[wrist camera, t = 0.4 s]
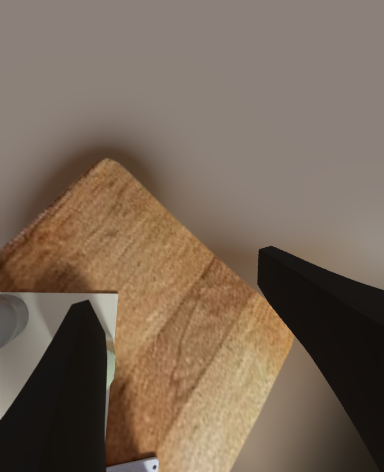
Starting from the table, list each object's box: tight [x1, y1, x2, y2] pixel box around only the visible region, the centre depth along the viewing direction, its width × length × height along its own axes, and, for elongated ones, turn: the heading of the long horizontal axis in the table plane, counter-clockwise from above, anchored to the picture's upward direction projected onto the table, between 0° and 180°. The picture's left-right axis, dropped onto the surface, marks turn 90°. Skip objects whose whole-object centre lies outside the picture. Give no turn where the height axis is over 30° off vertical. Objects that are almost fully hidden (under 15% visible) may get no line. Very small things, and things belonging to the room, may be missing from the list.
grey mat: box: [0, 292, 118, 437], centre depth 28 cm, size 20×18×1 cm
